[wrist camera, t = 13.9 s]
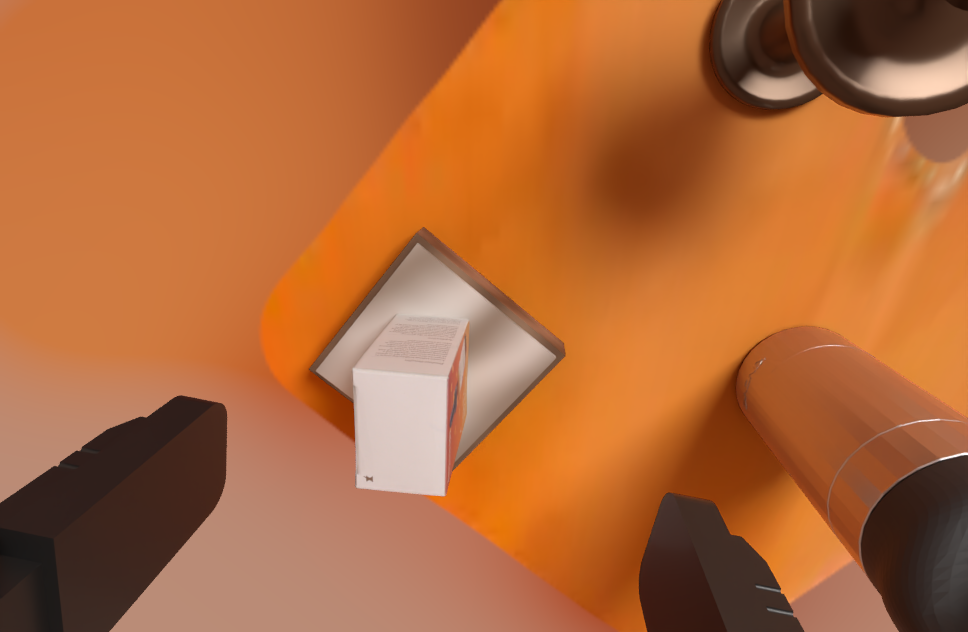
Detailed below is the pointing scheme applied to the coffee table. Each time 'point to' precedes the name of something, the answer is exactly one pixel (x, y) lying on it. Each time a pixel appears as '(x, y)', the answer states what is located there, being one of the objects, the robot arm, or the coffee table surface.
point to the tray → (453, 294)
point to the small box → (411, 405)
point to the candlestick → (844, 54)
